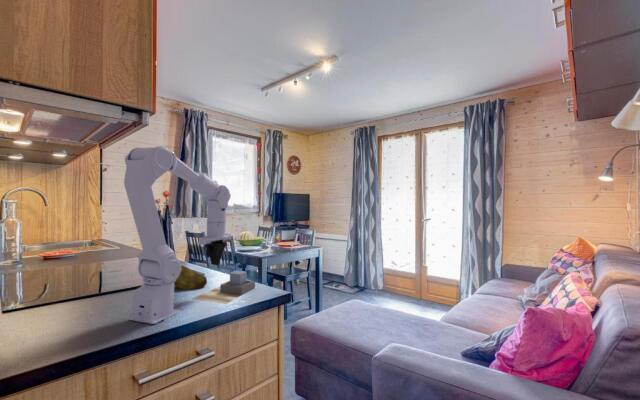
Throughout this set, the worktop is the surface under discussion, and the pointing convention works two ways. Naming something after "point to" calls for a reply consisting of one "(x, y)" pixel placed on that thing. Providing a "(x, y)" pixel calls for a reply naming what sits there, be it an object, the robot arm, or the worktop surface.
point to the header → (237, 288)
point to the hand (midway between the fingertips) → (215, 264)
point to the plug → (238, 278)
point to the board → (217, 296)
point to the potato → (190, 279)
